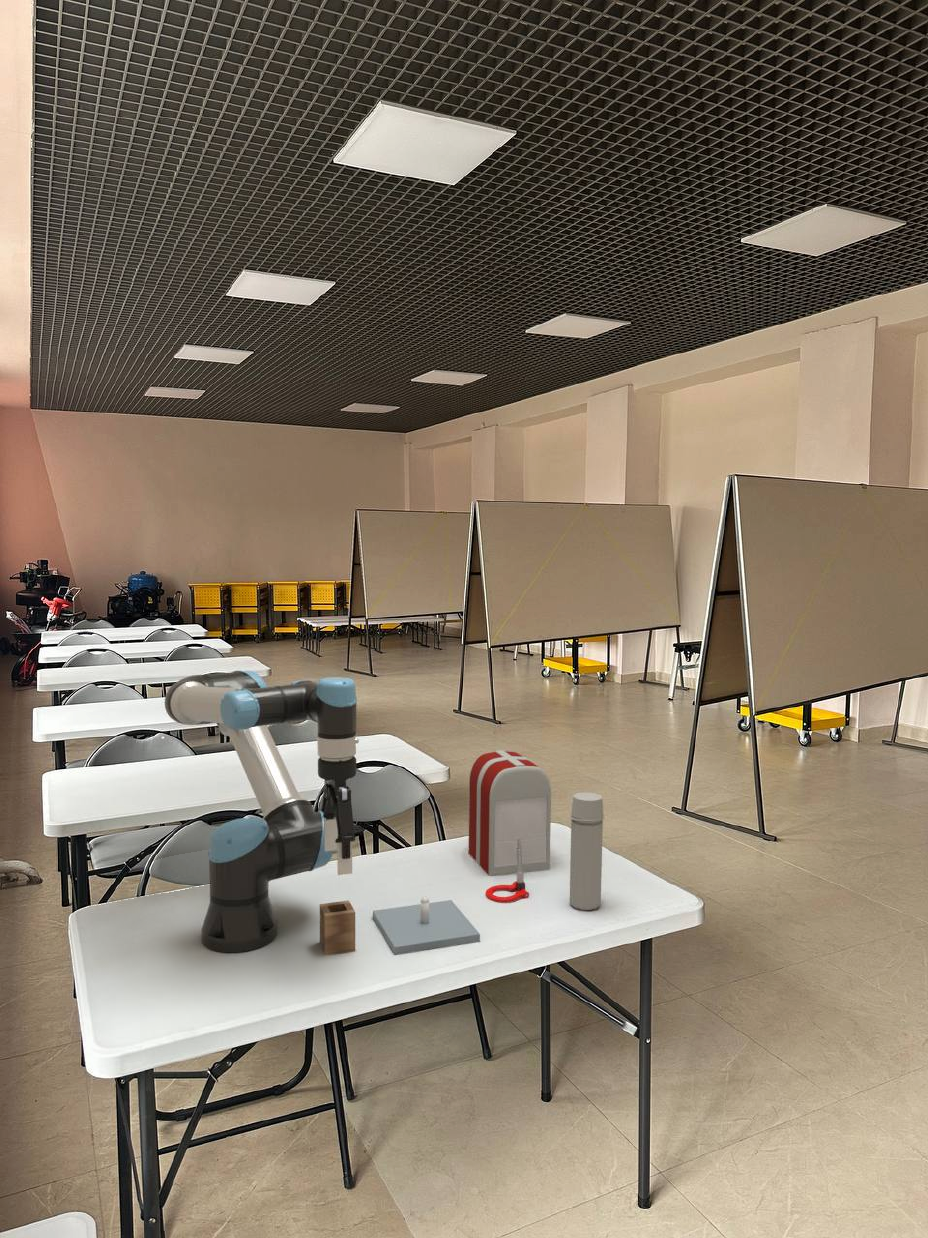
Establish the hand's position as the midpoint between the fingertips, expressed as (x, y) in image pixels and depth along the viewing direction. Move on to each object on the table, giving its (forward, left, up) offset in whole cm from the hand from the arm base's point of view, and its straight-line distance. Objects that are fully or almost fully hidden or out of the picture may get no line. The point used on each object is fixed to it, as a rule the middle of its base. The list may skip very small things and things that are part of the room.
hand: (337, 861), depth 174 cm
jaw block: (0, 0, -18) cm, 18 cm away
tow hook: (+42, +13, -18) cm, 48 cm away
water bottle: (+57, +3, -18) cm, 60 cm away
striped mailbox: (+51, +33, -18) cm, 63 cm away
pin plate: (+19, +2, -18) cm, 26 cm away
